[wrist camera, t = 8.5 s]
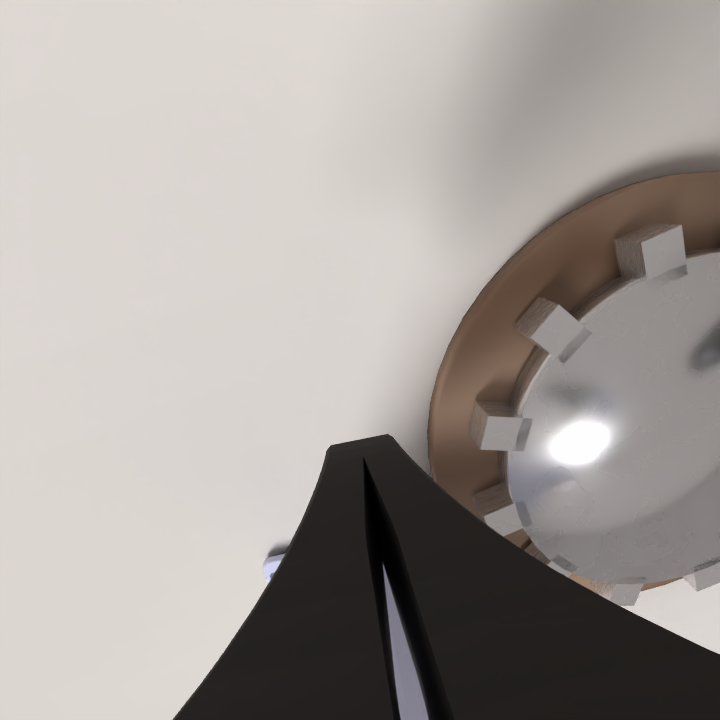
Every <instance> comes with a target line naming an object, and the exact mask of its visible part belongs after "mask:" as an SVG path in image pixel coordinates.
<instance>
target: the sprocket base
mask: <svg viewBox="0 0 720 720" xmlns="http://www.w3.org/2000/svg"><path fill="white" fill-rule="evenodd" d="M651 223H654V224H674V225H682V231H683V239H684V247H685V251H688V250H698V249H708V248H720V171H711V172H699V173H689V174H679V175H669V176H662V177H658V178H654V179H650V180H646V181H642V182H638V183H634V184H631V185H628V186H625V187H623V188H620V189H618V190H615V191H613V192H610V193H608V194H605V195H603V196H600V197H598V198H596V199H594V200H592V201H590V202H588V203H587V204H585V205H583V206H581V207H579V208H577V209H576V210H574V211H572V212H570V213H568V214H566V215H565V216H563V217H562V218H561V219H559V220H558V221H556V222H555V223H553V224H552V225H551V226H549V227H548V228H546V229H545V230H544V231H542V232H541V233H539V234H538V235H537V236H535V237H534V238H533V239H532V240H531V241H530V242H528V243H527V244H526V245H525V246H524V247H523V248H522V249H521V250H520V251H518V252H517V253H516V254H515V255H514V256H513V257H512V258H511V259H510V260H508V261H507V263H506V264H505V265H504V266H503V267H502V268H501V269H500V271H499V272H498V273H497V274H496V275H495V276H494V277H493V278H492V280H491V281H490V282H489V283H488V284H487V285H486V286H485V287H484V289H483V290H482V292H481V293H480V294H479V296H478V297H477V299H476V300H475V302H474V303H473V304H472V306H471V307H470V309H469V310H468V312H467V313H466V315H465V316H464V318H463V320H462V321H461V323H460V325H459V327H458V329H457V331H456V333H455V334H454V336H453V338H452V340H451V342H450V344H449V346H448V348H447V351H446V353H445V356H444V359H443V361H442V364H441V366H440V369H439V372H438V374H437V378H436V382H435V386H434V390H433V394H432V398H431V402H430V410H429V420H428V430H427V434H428V457H429V462H430V467H431V472H432V477H433V480H434V481H435V482H436V483H437V484H438V485H439V486H440V487H441V488H443V489H444V490H445V491H446V492H447V493H448V494H449V495H451V496H452V497H453V498H454V499H455V500H456V501H458V502H459V503H460V504H461V505H462V506H464V507H465V508H466V509H467V510H469V511H470V512H471V513H472V514H474V515H475V516H476V517H477V518H479V519H480V520H481V521H482V519H481V517H480V515H479V512H478V510H477V507H476V505H475V502H474V500H473V497H472V495H474V494H476V493H479V492H481V491H483V490H486V489H488V488H490V487H493V486H495V485H497V484H500V483H501V482H500V478H499V468H498V450H480V448H479V447H478V445H477V444H476V443H475V441H474V440H473V438H472V437H471V435H470V434H469V433H468V430H469V425H470V421H471V417H472V412H473V408H474V404H475V401H491V402H508V399H509V396H510V394H511V392H512V390H513V388H514V386H515V383H516V381H517V379H518V377H519V375H520V373H521V371H522V370H523V368H524V367H525V365H526V363H527V362H528V360H529V358H530V357H531V355H532V354H533V352H534V351H535V350H536V348H537V346H536V345H535V344H534V343H532V342H531V341H530V340H529V339H527V338H526V337H525V336H524V335H522V334H521V333H520V332H519V331H517V330H516V329H515V328H514V325H515V324H516V323H517V322H518V321H519V320H520V318H521V317H522V316H523V315H524V314H525V312H526V311H527V310H528V309H529V308H530V307H531V305H532V304H533V303H534V302H535V301H536V299H537V298H538V297H541V298H544V299H546V300H549V301H551V302H554V303H556V304H559V305H560V306H561V307H562V308H564V309H565V310H566V311H567V312H569V311H570V310H572V309H573V308H574V307H575V306H576V305H578V304H579V303H580V302H581V301H582V300H584V299H585V298H586V297H587V296H588V295H590V294H591V293H593V292H594V291H596V290H597V289H599V288H600V287H602V286H603V285H605V284H606V283H608V282H609V281H611V280H612V279H614V278H616V277H618V276H620V271H619V265H618V260H617V254H616V249H615V244H614V240H615V239H617V238H619V237H621V236H624V235H626V234H628V233H630V232H633V231H635V230H637V229H639V228H642V227H644V226H646V225H648V224H651ZM503 537H505V538H506V539H508V540H509V541H511V542H512V543H514V544H515V545H517V546H518V547H520V548H521V549H522V550H525V549H526V548H527V547H528V546H529V545H530V544H531V543H532V540H531V539H530V538H529V536H528V535H527V533H526V532H525V530H524V529H523V528H522V529H520V530H517V531H515V532H513V533H510V534H508V535H506V536H503ZM568 578H570V579H572V580H574V581H575V582H577V583H579V584H581V585H582V586H584V587H586V588H588V589H590V590H591V591H593V592H595V593H597V592H596V590H595V589H594V588H593V586H592V585H591V584H590V579H587V578H584V577H581V576H577V575H575V574H573V573H572V574H571V575H570V576H569V577H568ZM682 578H683V577H678V578H674V579H671V580H666V581H660V582H654V583H645V584H643V586H642V589H641V591H644V590H648V589H651V588H655V587H659V586H662V585H666V584H668V583H671V582H674V581H676V580H679V579H682ZM597 594H598V593H597Z"/></svg>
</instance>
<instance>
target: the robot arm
mask: <svg viewBox="0 0 720 720" xmlns="http://www.w3.org/2000/svg"><path fill="white" fill-rule="evenodd" d="M263 571H264V574H265V577H266V580H267V583H268V585H267V587H266V588H265V590H264V592H263V593H262V595H261V597H260V598H259V600H258V602H257V603H256V605H255V606H254V608H253V610H252V611H251V613H250V614H249V616H248V617H247V619H246V620H245V622H244V623H243V625H242V626H241V628H240V629H239V630H238V632H237V633H236V635H235V636H234V638H233V639H232V641H231V642H230V644H229V645H228V647H227V648H226V650H225V651H224V653H223V654H222V655H221V657H220V658H219V660H218V661H217V662H216V664H215V665H214V667H213V668H212V669H211V671H210V672H209V673H208V675H207V676H206V678H205V679H204V680H203V682H202V683H201V684H200V686H199V687H198V688H197V689H196V691H195V692H194V693H193V694H192V696H191V697H190V698H189V700H188V701H187V702H186V703H185V705H184V706H183V707H182V708H181V710H180V711H179V712H178V714H177V715H176V716H175V717H174V719H173V720H720V654H717V653H715V652H713V651H710V650H708V649H706V648H704V647H702V646H700V645H698V644H695V643H693V642H691V641H689V640H687V639H685V638H683V637H681V636H679V635H677V634H675V633H673V632H671V631H669V630H667V629H665V628H663V627H660V626H658V625H656V624H654V623H652V622H650V621H648V620H646V619H644V618H642V617H640V616H638V615H636V614H634V613H632V612H630V611H628V610H626V609H624V608H622V607H620V606H619V605H617V604H615V603H613V602H611V601H609V600H608V599H606V598H604V597H602V596H600V595H599V594H597V593H595V592H593V591H591V590H590V589H588V588H586V587H584V586H582V585H581V584H579V583H577V582H575V581H574V580H572V579H570V578H568V577H566V576H565V575H563V574H561V573H559V572H557V571H556V570H554V569H552V568H551V567H549V566H548V565H546V564H544V563H543V562H541V561H540V560H538V559H536V558H535V557H533V556H532V555H530V554H528V553H527V552H525V551H524V550H522V549H521V548H520V547H518V546H517V545H515V544H514V543H512V542H511V541H509V540H508V539H506V538H505V537H503V536H502V535H500V534H499V533H498V532H496V531H495V530H494V529H492V528H491V527H489V526H488V525H487V524H485V523H484V522H483V521H481V520H480V519H479V518H477V517H476V516H475V515H474V514H472V513H471V512H470V511H469V510H467V509H466V508H465V507H464V506H462V505H461V504H460V503H459V502H458V501H456V500H455V499H454V498H453V497H452V496H451V495H449V494H448V493H447V492H446V491H445V490H444V489H443V488H441V487H440V486H439V485H438V484H437V483H436V482H435V481H434V480H433V479H432V478H431V477H429V476H428V475H427V474H426V473H425V472H424V471H423V470H422V469H421V468H420V467H419V466H418V465H417V464H416V463H415V462H414V461H413V460H412V459H411V458H410V457H409V455H408V454H407V453H406V452H405V451H404V450H403V449H402V448H401V447H400V445H399V444H398V443H397V442H396V440H395V439H394V438H393V437H392V436H390V435H389V434H385V435H380V436H375V437H370V438H365V439H360V440H355V441H350V442H345V443H340V444H335V445H331V446H330V447H329V448H328V450H327V451H326V456H325V460H324V464H323V467H322V470H321V473H320V476H319V479H318V482H317V485H316V487H315V490H314V492H313V495H312V497H311V500H310V502H309V504H308V507H307V509H306V512H305V514H304V516H303V518H302V521H301V523H300V525H299V527H298V529H297V531H296V533H295V535H294V537H293V539H292V541H291V543H290V545H289V547H288V549H287V551H286V553H285V554H282V555H277V556H272V557H269V558H267V559H266V560H265V561H264V565H263ZM273 572H275V573H274V574H273Z"/></svg>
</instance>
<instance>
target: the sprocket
mask: <svg viewBox="0 0 720 720" xmlns="http://www.w3.org/2000/svg"><path fill="white" fill-rule="evenodd" d="M614 244H615V249H616V254H617V260H618V265H619V271H620V276H618V277H616V278H614V279H612V280H611V281H609V282H608V283H606V284H605V285H603V286H602V287H600V288H599V289H597V290H596V291H594V292H593V293H591V294H590V295H588V296H587V297H586V298H585V299H584V300H582V301H581V302H580V303H579V304H578V305H576V306H575V307H574V308H573V309H572V310H570V311H569V312H567V311H566V310H565V309H564V308H562V307H561V306H560V305H559V304H556V303H554V302H551V301H549V300H546V299H544V298H541V297H538V298H537V299H536V301H535V302H534V303H533V304H532V305H531V307H530V308H529V309H528V310H527V311H526V312H525V314H524V315H523V316H522V317H521V318H520V320H519V321H518V322H517V323H516V324H515V325H514V328H515V329H516V330H517V331H519V332H520V333H521V334H522V335H524V336H525V337H526V338H527V339H529V340H530V341H531V342H532V343H534V344H535V345H536V346H537V348H536V350H535V351H534V352H533V354H532V355H531V357H530V358H529V360H528V362H527V363H526V365H525V367H524V368H523V370H522V371H521V373H520V375H519V377H518V379H517V381H516V383H515V386H514V388H513V390H512V392H511V394H510V396H509V399H508V402H491V401H475V404H474V408H473V412H472V417H471V421H470V425H469V430H468V433H469V434H470V435H471V437H472V438H473V440H474V441H475V443H476V444H477V445H478V447H479V448H480V450H498V468H499V478H500V482H501V483H500V484H497V485H495V486H493V487H490V488H488V489H486V490H483V491H481V492H479V493H476V494H474V495H472V497H473V500H474V502H475V505H476V507H477V510H478V512H479V515H480V517H481V519H482V521H483V522H484V523H485V524H487V525H488V526H489V527H491V528H492V529H494V530H495V531H496V532H498V533H499V534H500V535H502V536H506V535H508V534H510V533H513V532H515V531H517V530H520V529H522V528H523V529H524V530H525V532H526V533H527V535H528V536H529V538H530V539H531V540H532V543H531V544H530V545H529V546H528V547H527V548H526V549H525V550H524V551H525V552H527V553H528V554H530V555H532V556H533V557H535V558H536V559H538V560H540V561H541V562H543V563H544V564H546V565H548V566H549V567H551V568H552V569H554V570H556V571H557V572H559V573H561V574H563V575H565V576H566V577H569V576H570V575H571V574H572V573H573V574H575V575H577V576H581V577H584V578H587V579H590V584H591V585H592V586H593V588H594V589H595V590H596V592H597V593H598V594H599V595H600V596H602V597H604V598H606V599H608V600H609V601H611V602H613V603H615V604H617V605H619V606H631V605H634V604H635V602H636V600H637V597H638V595H639V593H640V591H641V589H642V586H643V584H645V583H654V582H660V581H666V580H671V579H674V578H678V577H683V578H684V579H685V580H686V581H687V582H688V583H689V584H690V585H691V586H692V587H693V588H694V589H695V590H696V591H697V592H698V591H700V590H702V589H705V588H707V587H710V586H712V585H715V584H717V583H720V248H708V249H698V250H688V251H685V247H684V239H683V231H682V225H674V224H654V223H651V224H648V225H646V226H644V227H642V228H639V229H637V230H635V231H633V232H630V233H628V234H626V235H624V236H621V237H619V238H617V239H615V240H614Z"/></svg>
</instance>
